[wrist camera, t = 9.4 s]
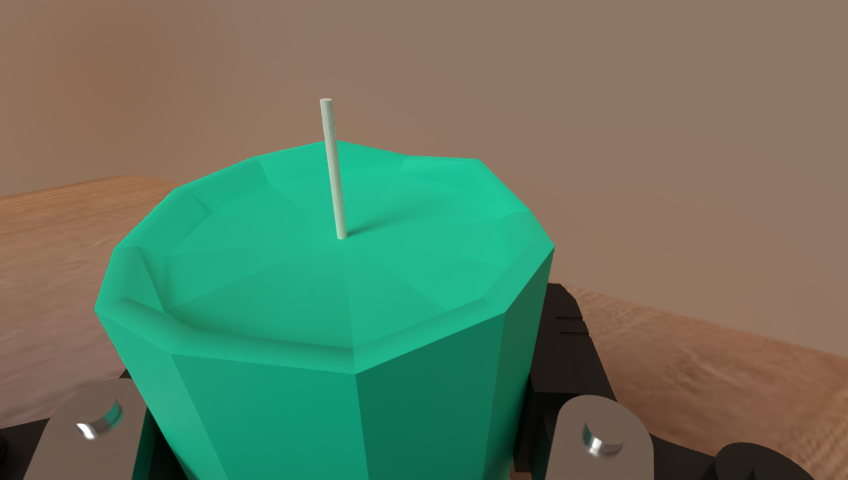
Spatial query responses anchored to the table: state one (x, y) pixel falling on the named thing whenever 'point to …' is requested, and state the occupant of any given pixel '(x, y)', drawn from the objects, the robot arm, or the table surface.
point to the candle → (333, 316)
